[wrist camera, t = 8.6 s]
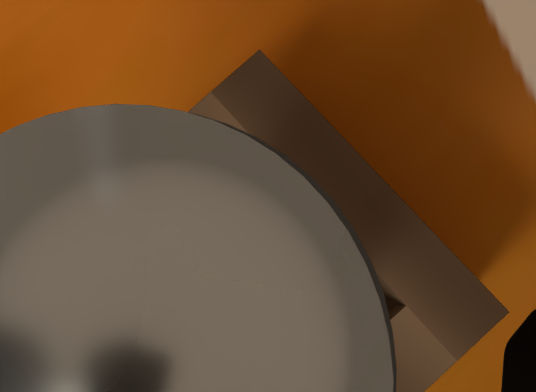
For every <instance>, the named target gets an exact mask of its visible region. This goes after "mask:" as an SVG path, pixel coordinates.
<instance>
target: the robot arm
mask: <svg viewBox="0 0 536 392" xmlns="http://www.w3.org/2000/svg"><path fill="white" fill-rule="evenodd" d="M501 392H536V309H535V310H534V311H533V312H531V314H530V315H529V316H528V317H527V318H526V320H525V321H524V322H523V323H522V325H521V326H520V327H519V328H518V329H517V331H516V332H515V333H514V334H513V335H512V337H511V338H510V339H509V341H508V343H507V345H506V348H505V352H504V361H503V375H502V389H501Z"/></svg>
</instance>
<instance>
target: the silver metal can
mask: <svg viewBox="0 0 536 392" xmlns="http://www.w3.org/2000/svg"><path fill="white" fill-rule="evenodd" d="M396 377H397V366H396V357H395V348H394V338H393V330H392V326H391V322H390V317H389V313H388V309H387V305H386V301H385V297H384V293H383V291H382V288H381V285H380V283H379V280H378V278H377V275H376V272H375V270H374V267H373V264H372V262H371V260H370V258H369V256H368V254H367V252H366V250H365V248H364V247H363V245H362V243H361V241H360V239H359V237H358V235H357V234H356V232H355V230H354V228H353V227H352V226H351V224H350V223H349V221H348V220H347V219H346V217H345V216H344V214H343V213H342V212H341V210H340V209H339V207H338V206H337V205H336V203H335V202H334V201H333V200H332V198H331V197H330V196H329V195H328V194H327V193H326V192H325V191H324V190H323V189H322V188H321V187H320V186H319V184H318V183H317V182H316V181H315V180H314V179H313V178H312V177H311V176H310V175H309V174H307V173H306V172H305V171H304V170H303V169H301V168H300V167H299V166H298V165H297V164H295V163H294V162H293V161H292V160H291V159H289V158H288V157H287V156H286V155H284V154H283V153H281V152H280V151H278V150H276V149H275V148H273V147H272V146H270V145H268V144H267V143H265V142H264V141H262V140H260V139H259V138H257V137H255V136H253V135H251V134H249V133H246V132H244V131H242V130H240V129H238V128H235V127H233V126H231V125H229V124H227V123H224V122H220V121H217V120H214V119H210V118H207V117H204V116H201V115H197V114H193V113H188V112H184V111H180V110H174V109H168V108H162V107H156V106H150V105H125V104H111V105H101V106H90V107H80V108H76V109H72V110H67V111H63V112H58V113H54V114H49V115H46V116H43V117H40V118H38V119H35V120H32V121H29V122H27V123H24V124H21V125H18V126H16V127H14V128H12V129H10V130H8V131H6V132H4V133H2V134H0V392H396Z"/></svg>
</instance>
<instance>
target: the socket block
mask: <svg viewBox="0 0 536 392" xmlns="http://www.w3.org/2000/svg"><path fill="white" fill-rule="evenodd" d="M188 113H193V114H197V115H201V116H204V117H207V118H210V119H214V120H217V121H220V122H224V123H227V124H229V125H231V126H233V127H235V128H238V129H240V130H242V131H244V132H246V133H249V134H251V135H253V136H255V137H257V138H259V139H260V140H262V141H264V142H265V143H267V144H268V145H270V146H272V147H273V148H275V149H276V150H278V151H280V152H281V153H283V154H284V155H286V156H287V157H288V158H289V159H291V160H292V161H293V162H294V163H295V164H297V165H298V166H299V167H300V168H301V169H303V170H304V171H305V172H306V173H307V174H309V175H310V176H311V177H312V178H313V179H314V180H315V181H316V182H317V183H318V184H319V186H320V187H321V188H322V189H323V190H324V191H325V192H326V193H327V194H328V195H329V196H330V197H331V198H332V200H333V201H334V202H335V203H336V205H337V206H338V207H339V209H340V210H341V212H342V213H343V214H344V216H345V217H346V219H347V220H348V221H349V223H350V224H351V226H352V227H353V228H354V230H355V232H356V234H357V235H358V237H359V239H360V241H361V243H362V245H363V247H364V248H365V250H366V252H367V254H368V256H369V258H370V260H371V262H372V264H373V267H374V270H375V272H376V275H377V278H378V280H379V283H380V285H381V288H382V291H383V293H384V297H385V301H386V305H387V309H388V313H389V317H390V322H391V326H392V330H393V338H394V348H395V357H396V366H397V377H396V392H424V391H425V390H426V389H427V388H429V387H430V386H431V385H432V384H433V383H434V382H435V381H436V380H437V379H438V378H439V377H440V376H441V375H442V374H444V373H445V372H446V371H447V370H448V369H449V368H450V367H451V366H452V365H453V364H454V363H455V362H456V361H457V360H459V359H460V358H461V357H462V356H463V355H464V354H465V353H466V352H467V351H468V350H469V349H470V348H471V347H472V346H474V345H475V344H476V343H477V342H478V341H479V340H480V339H481V338H482V337H483V336H484V335H485V334H486V333H488V332H489V331H490V330H491V329H492V328H493V327H494V326H495V325H496V324H497V323H498V322H499V321H500V320H501V319H503V318H504V317H505V316H506V315H507V314H508V313H509V311H508V310H507V309H506V308H505V307H504V306H503V305H502V304H501V303H500V302H499V301H498V300H497V299H496V298H495V296H494V295H493V294H492V293H491V292H490V291H489V290H488V289H487V288H486V287H485V286H484V285H483V284H482V283H481V282H480V281H479V280H478V279H477V278H476V277H475V275H474V274H473V273H472V272H471V271H470V270H469V269H468V268H467V267H466V266H465V265H464V264H463V263H462V262H461V261H460V260H459V259H458V258H457V257H456V255H455V254H454V253H453V252H452V251H451V250H450V249H449V248H448V247H447V246H446V245H445V244H444V243H443V242H442V241H441V240H440V239H439V238H438V237H437V236H436V234H435V233H434V232H433V231H432V230H431V229H430V228H429V227H428V226H427V225H426V224H425V223H424V222H423V221H422V220H421V219H420V218H419V217H418V216H417V214H416V213H415V212H414V211H413V210H412V209H411V208H410V207H409V206H408V205H407V204H406V203H405V202H404V201H403V200H402V199H401V198H400V197H399V196H398V195H397V193H396V192H395V191H394V190H393V189H392V188H391V187H390V186H389V185H388V184H387V183H386V182H385V181H384V180H383V179H382V178H381V177H380V176H379V175H378V173H377V172H376V171H375V170H374V169H373V168H372V167H371V166H370V165H369V164H368V163H367V162H366V161H365V160H364V159H363V158H362V157H361V156H360V155H359V154H358V152H357V151H356V150H355V149H354V148H353V147H352V146H351V145H350V144H349V143H348V142H347V141H346V140H345V139H344V138H343V137H342V136H341V135H340V134H339V132H338V131H337V130H336V129H335V128H334V127H333V126H332V125H331V124H330V123H329V122H328V121H327V120H326V119H325V118H324V117H323V116H322V115H321V114H320V113H319V111H318V110H317V109H316V108H315V107H314V106H313V105H312V104H311V103H310V102H309V101H308V100H307V99H306V98H305V97H304V96H303V95H302V94H301V93H300V91H299V90H298V89H297V88H296V87H295V86H294V85H293V84H292V83H291V82H290V81H289V80H288V79H287V78H286V77H285V76H284V75H283V74H282V73H281V72H280V70H279V69H278V68H277V67H276V66H275V65H274V64H273V63H272V62H271V61H270V60H269V59H268V58H267V57H266V56H265V55H264V54H263V53H262V52H261V50H258V51H257V52H256V53H255V54H254V55H253V56H251V57H250V58H249V59H248V60H247V61H246V62H245V63H243V64H242V65H241V66H240V67H239V68H238V69H237V70H235V71H234V72H233V73H232V74H231V75H230V76H229V77H227V78H226V79H225V80H224V81H223V82H222V83H220V84H219V85H218V86H217V87H216V88H215V89H214V90H212V91H211V92H210V93H209V94H208V95H207V96H206V97H204V98H203V99H202V100H201V101H200V102H199V103H198V104H196V105H195V106H194V107H193V108H192V109H191V110H189V111H188Z"/></svg>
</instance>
